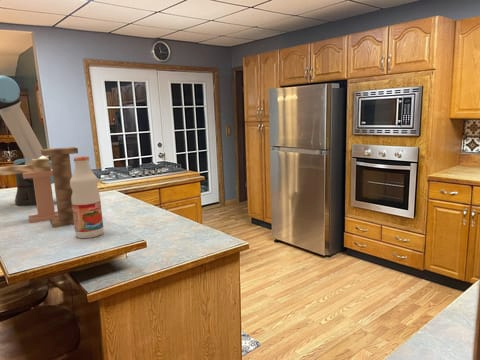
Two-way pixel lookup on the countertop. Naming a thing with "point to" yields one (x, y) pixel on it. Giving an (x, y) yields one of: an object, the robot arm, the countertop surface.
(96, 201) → the fruit juice
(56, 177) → the walnut stand
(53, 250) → the countertop surface
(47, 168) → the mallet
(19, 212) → the countertop surface
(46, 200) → the terracotta stand
